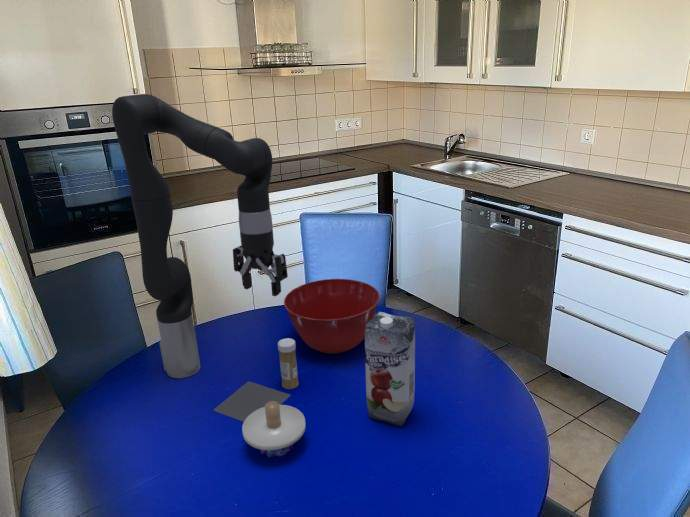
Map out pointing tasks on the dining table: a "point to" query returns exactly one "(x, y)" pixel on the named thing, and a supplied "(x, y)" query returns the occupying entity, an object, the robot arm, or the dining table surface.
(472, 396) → the dining table surface
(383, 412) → the juice carton
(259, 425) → the lid
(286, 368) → the sprinkles bottle
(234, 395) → the mat
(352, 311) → the mixing bowl
